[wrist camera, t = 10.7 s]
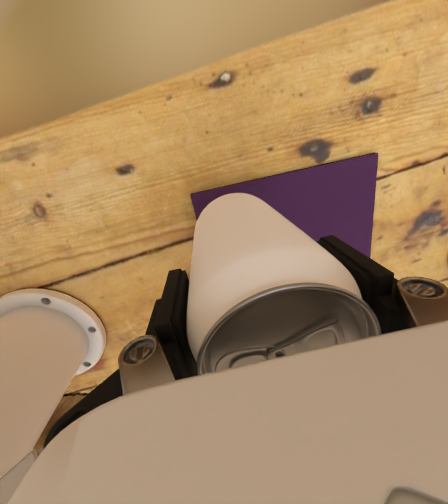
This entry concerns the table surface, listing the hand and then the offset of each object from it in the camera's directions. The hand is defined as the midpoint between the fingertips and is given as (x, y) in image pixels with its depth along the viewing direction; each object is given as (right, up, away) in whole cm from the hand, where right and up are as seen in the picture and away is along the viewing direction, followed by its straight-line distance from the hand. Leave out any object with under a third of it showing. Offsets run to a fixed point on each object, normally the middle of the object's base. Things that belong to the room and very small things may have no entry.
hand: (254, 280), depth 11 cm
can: (-1, +3, +7) cm, 7 cm away
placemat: (+5, +4, +13) cm, 14 cm away
